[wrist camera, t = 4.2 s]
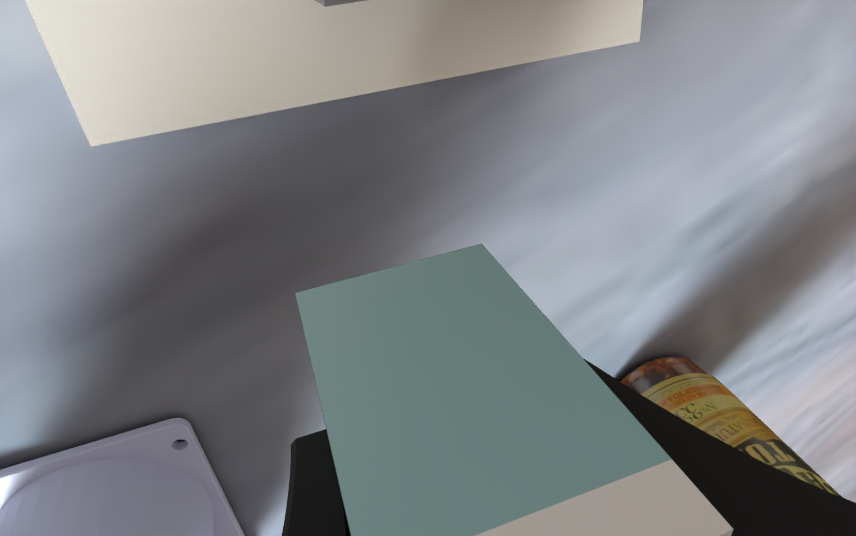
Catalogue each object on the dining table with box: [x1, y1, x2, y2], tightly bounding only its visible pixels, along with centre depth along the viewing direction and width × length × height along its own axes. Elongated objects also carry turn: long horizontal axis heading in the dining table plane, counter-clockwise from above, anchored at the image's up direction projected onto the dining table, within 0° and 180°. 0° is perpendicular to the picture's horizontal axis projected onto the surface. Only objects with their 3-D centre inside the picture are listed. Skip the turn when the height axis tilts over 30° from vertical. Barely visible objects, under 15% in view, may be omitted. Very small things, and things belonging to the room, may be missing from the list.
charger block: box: [295, 244, 733, 536], centre depth 10 cm, size 4×4×7 cm
